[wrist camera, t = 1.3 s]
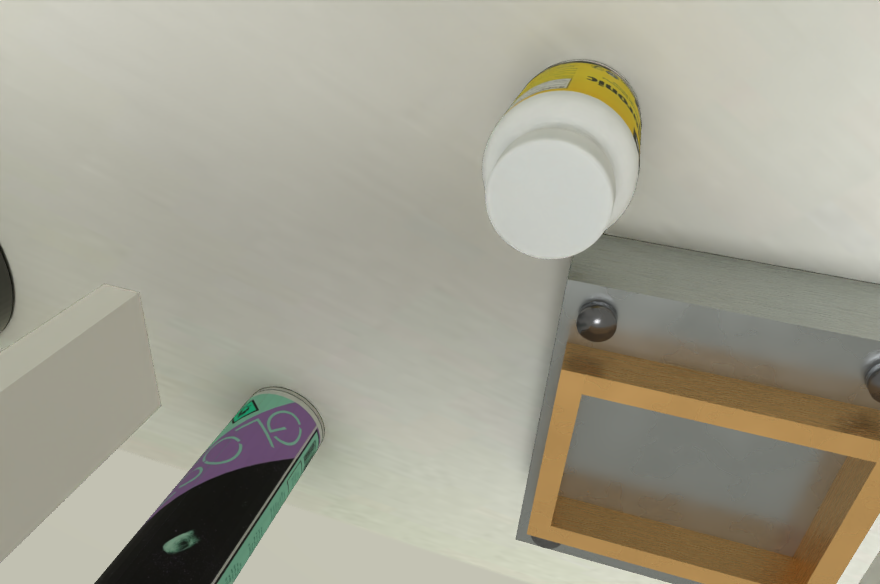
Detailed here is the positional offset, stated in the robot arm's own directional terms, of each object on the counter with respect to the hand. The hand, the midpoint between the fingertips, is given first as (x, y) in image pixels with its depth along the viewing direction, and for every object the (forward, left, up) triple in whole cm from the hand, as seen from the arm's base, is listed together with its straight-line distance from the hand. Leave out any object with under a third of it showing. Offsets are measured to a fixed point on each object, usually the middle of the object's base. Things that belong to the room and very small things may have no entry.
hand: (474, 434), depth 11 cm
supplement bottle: (0, 0, -21) cm, 21 cm away
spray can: (-15, -22, -21) cm, 34 cm away
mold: (+8, -13, -20) cm, 25 cm away
